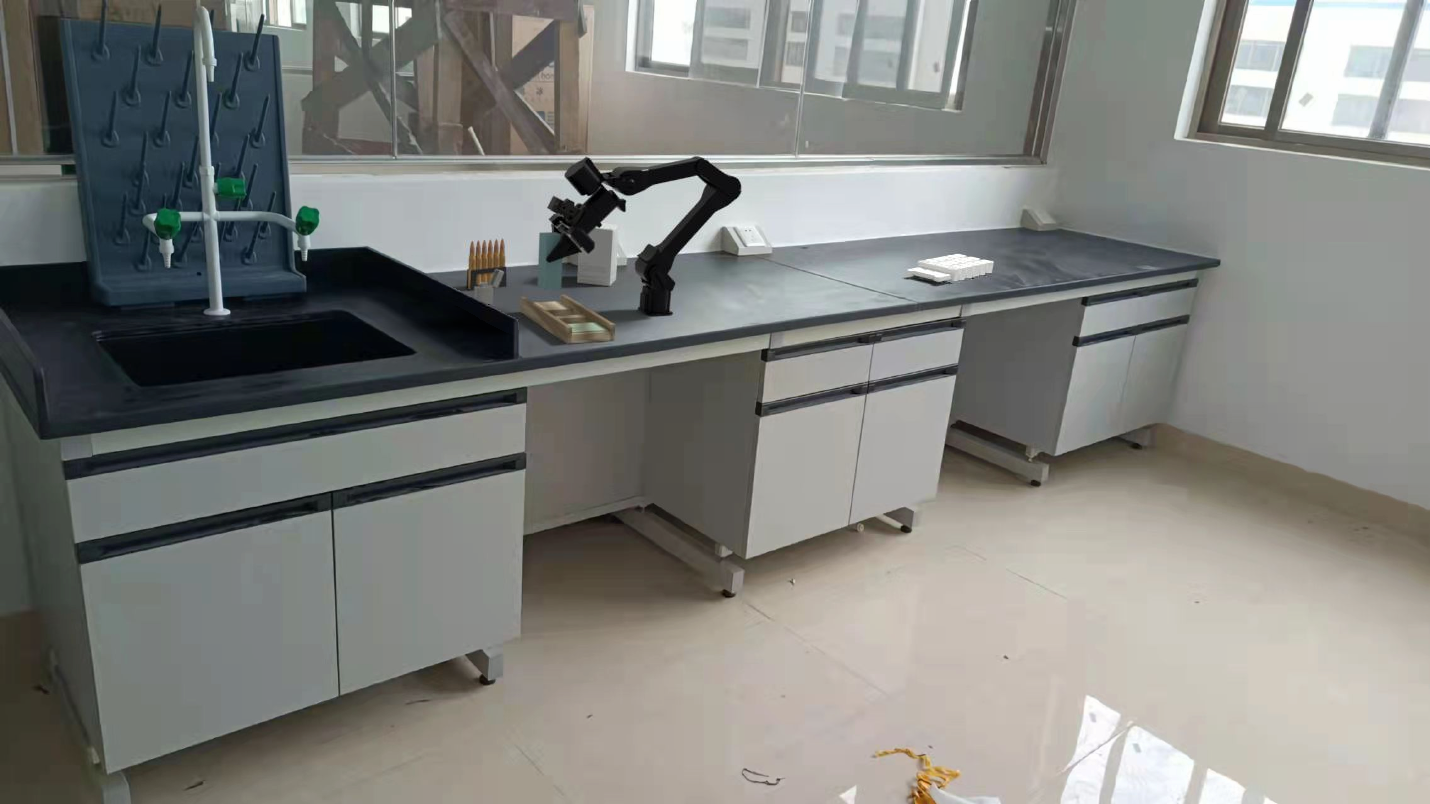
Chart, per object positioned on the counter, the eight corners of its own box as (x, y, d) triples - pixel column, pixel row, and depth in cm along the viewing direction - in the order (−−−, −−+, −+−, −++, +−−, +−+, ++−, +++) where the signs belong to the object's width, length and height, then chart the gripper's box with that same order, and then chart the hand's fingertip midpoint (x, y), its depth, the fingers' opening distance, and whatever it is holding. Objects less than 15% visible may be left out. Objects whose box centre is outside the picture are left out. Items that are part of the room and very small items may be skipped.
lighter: (478, 306, 229) (478, 272, 226) (473, 304, 230) (474, 270, 228) (503, 303, 234) (504, 269, 232) (499, 301, 235) (499, 268, 233)
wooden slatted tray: (564, 309, 234) (564, 294, 233) (614, 340, 214) (615, 324, 213) (519, 311, 228) (520, 296, 227) (567, 343, 208) (567, 327, 207)
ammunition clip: (470, 291, 242) (471, 242, 238) (466, 289, 243) (466, 240, 239) (506, 286, 250) (507, 238, 246) (502, 284, 251) (503, 237, 247)
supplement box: (616, 279, 268) (620, 224, 264) (610, 286, 260) (613, 229, 255) (583, 275, 269) (586, 220, 264) (576, 282, 261) (578, 225, 256)
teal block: (554, 284, 229) (556, 232, 225) (561, 288, 226) (563, 235, 222) (537, 285, 227) (539, 232, 223) (544, 289, 224) (546, 235, 220)
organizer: (993, 261, 325) (942, 272, 299) (991, 276, 327) (939, 288, 301) (957, 253, 333) (904, 263, 307) (955, 268, 335) (902, 278, 309)
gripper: (559, 178, 228) (510, 225, 227) (583, 191, 212) (530, 241, 211) (590, 213, 234) (542, 259, 233) (616, 228, 218) (565, 278, 217)
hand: (544, 259), depth 224 cm, fingers closed on teal block, 4 cm apart
